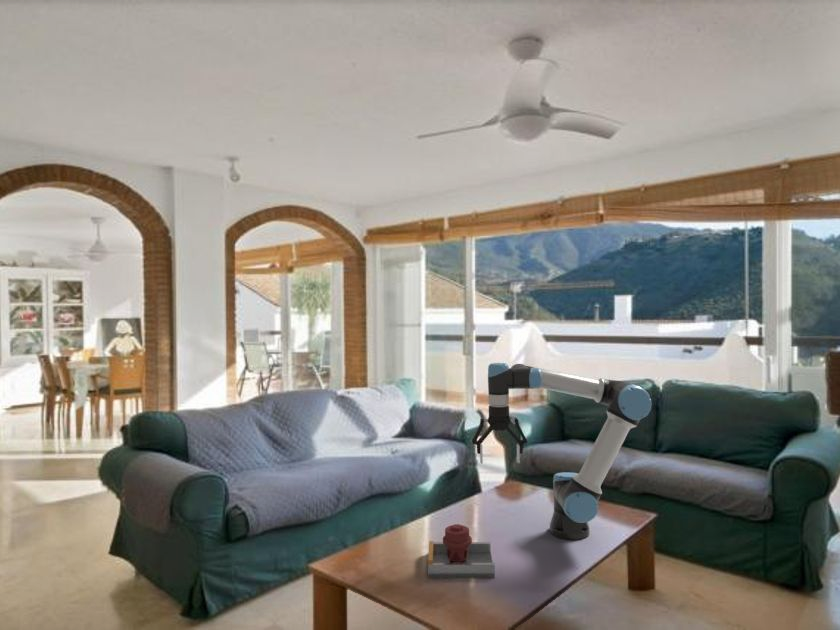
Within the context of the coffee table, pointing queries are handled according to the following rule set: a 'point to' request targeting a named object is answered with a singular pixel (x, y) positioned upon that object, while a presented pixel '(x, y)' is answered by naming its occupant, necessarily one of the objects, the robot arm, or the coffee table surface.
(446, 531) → the mechanical component
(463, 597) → the coffee table surface
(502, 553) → the coffee table surface
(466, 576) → the grey piece
